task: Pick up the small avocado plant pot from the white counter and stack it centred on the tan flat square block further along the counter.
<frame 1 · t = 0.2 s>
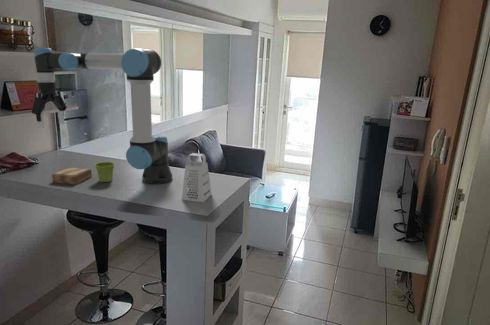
hand: (52, 125, 183), 27 cm above the counter, fingers open, 13 cm apart
grater: (197, 197, 171), on the counter
plant pot: (106, 181, 190), on the counter
tan flat square block: (72, 179, 190), on the counter
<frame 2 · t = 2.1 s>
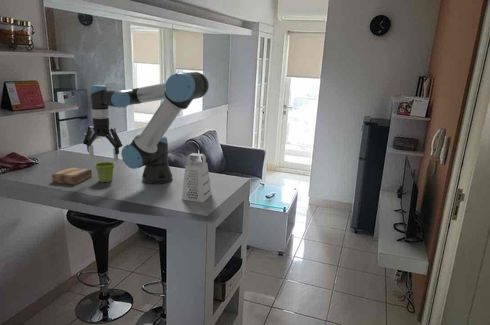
hand: (103, 159, 187), 11 cm above the counter, fingers open, 13 cm apart
nothing on the counter moved.
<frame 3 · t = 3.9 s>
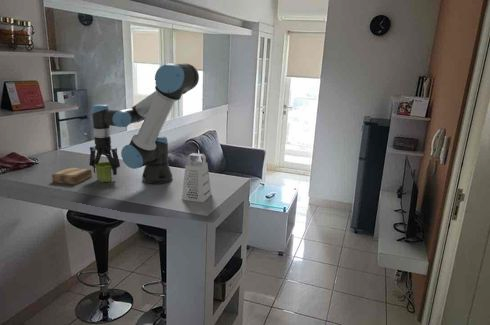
hand: (106, 179, 190), 0 cm above the counter, fingers closed on plant pot, 8 cm apart
plant pot: (106, 180, 190), on the counter, touching gripper
everything else where it was.
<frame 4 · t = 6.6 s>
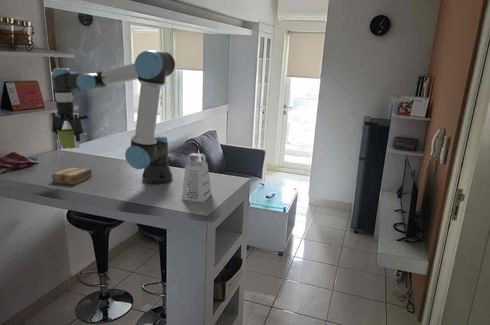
hand: (69, 146, 186), 17 cm above the counter, fingers closed on plant pot, 8 cm apart
plant pot: (69, 147, 186), point 17 cm above the counter, touching gripper
everything else where it was.
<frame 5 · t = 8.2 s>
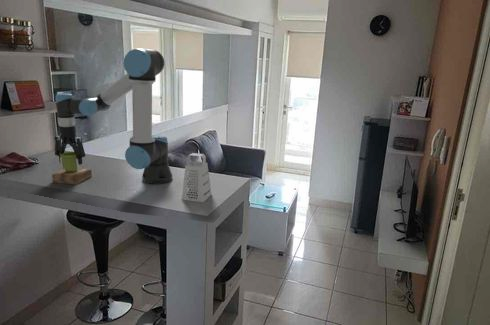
hand: (71, 169, 189), 5 cm above the counter, fingers closed on plant pot, 8 cm apart
plant pot: (71, 170, 189), point 5 cm above the counter, touching gripper
everything else where it was.
when the fingers open (5 cm above the counter, at t = 9.4 s): plant pot stays where it is, resting on tan flat square block.
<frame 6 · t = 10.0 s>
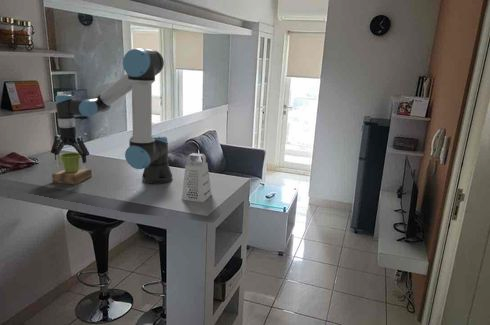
hand: (71, 167, 189), 6 cm above the counter, fingers open, 13 cm apart
plant pot: (72, 171, 189), point 4 cm above the counter, touching tan flat square block
everything else where it was.
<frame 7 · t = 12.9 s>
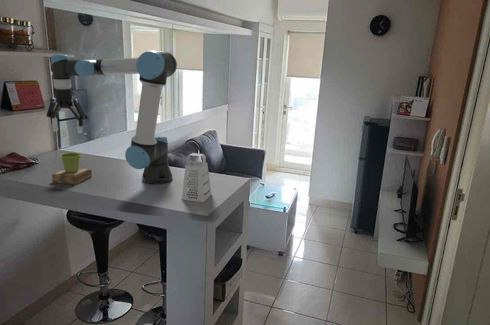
hand: (67, 132, 184), 25 cm above the counter, fingers open, 13 cm apart
nothing on the counter moved.
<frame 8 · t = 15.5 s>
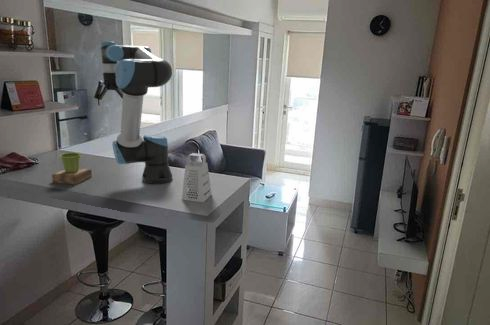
hand: (113, 112, 202), 32 cm above the counter, fingers open, 13 cm apart
nothing on the counter moved.
at the end: plant pot inside the target area on the tan flat square block (0.0 cm from its centre), point 4.1 cm above the tan flat square block's base; plant pot tilted 0°; the gripper is holding nothing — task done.
